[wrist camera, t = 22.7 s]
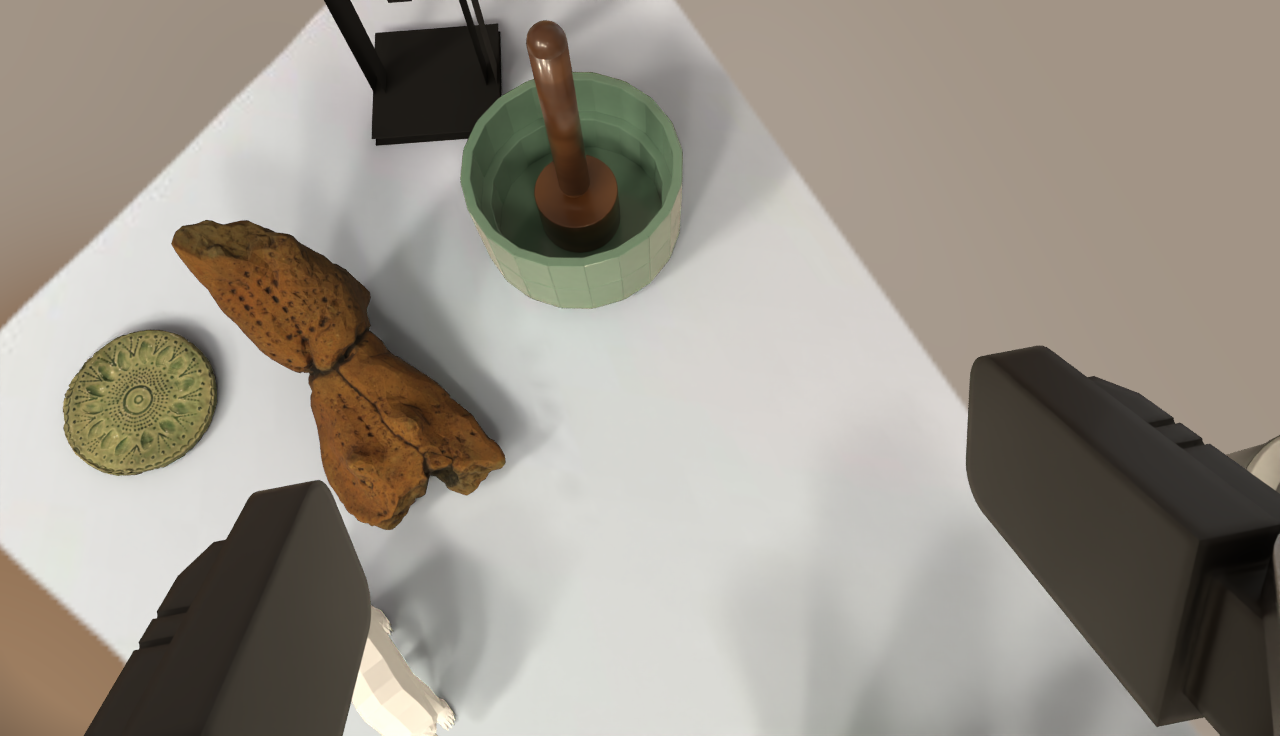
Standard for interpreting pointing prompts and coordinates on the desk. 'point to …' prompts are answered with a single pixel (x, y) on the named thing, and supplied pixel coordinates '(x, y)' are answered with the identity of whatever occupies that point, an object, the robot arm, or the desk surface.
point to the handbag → (426, 75)
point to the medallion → (140, 403)
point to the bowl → (612, 132)
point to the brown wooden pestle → (568, 154)
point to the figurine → (394, 689)
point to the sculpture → (341, 370)
